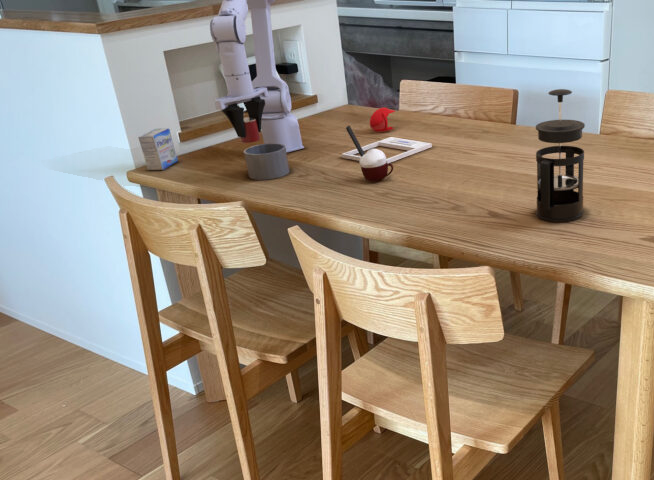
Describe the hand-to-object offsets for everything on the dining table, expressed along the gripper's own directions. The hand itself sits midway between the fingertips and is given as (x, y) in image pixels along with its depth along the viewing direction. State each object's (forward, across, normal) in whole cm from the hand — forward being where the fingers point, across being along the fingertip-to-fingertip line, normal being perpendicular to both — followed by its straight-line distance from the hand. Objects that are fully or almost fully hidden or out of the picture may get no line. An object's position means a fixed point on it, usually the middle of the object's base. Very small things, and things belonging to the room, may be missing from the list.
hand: (249, 134), depth 180 cm
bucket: (+9, -1, +3) cm, 10 cm away
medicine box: (+10, +5, -30) cm, 32 cm away
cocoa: (+10, -7, +31) cm, 33 cm away
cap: (+10, -44, +4) cm, 46 cm away
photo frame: (+10, -26, +20) cm, 34 cm away
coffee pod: (+1, 0, 0) cm, 1 cm away
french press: (+10, -3, +81) cm, 81 cm away
